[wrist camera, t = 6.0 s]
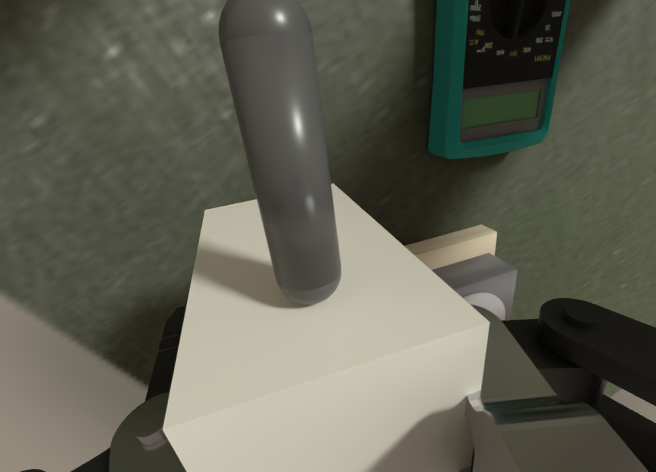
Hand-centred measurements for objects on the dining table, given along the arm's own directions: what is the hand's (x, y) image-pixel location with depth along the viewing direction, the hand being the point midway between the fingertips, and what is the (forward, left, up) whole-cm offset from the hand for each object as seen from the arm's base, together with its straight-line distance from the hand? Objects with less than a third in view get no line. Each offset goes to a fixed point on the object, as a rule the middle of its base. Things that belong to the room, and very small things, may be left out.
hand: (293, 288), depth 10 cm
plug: (-2, 0, -2) cm, 2 cm away
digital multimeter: (-7, +14, -10) cm, 19 cm away
